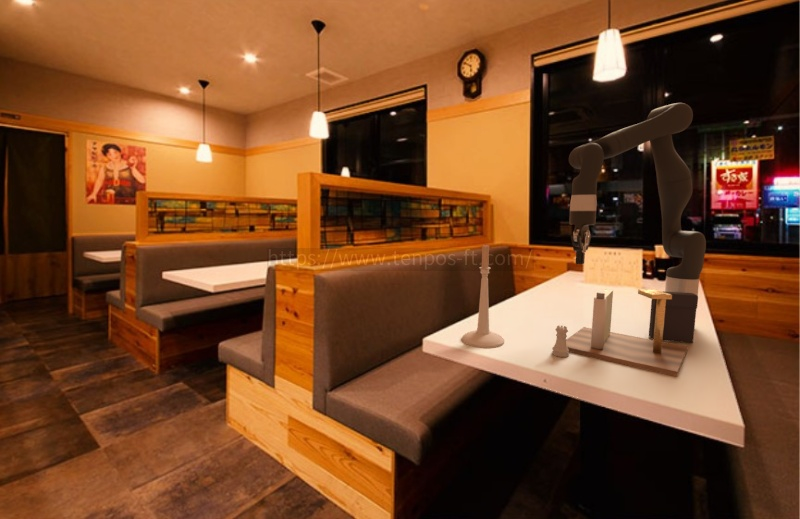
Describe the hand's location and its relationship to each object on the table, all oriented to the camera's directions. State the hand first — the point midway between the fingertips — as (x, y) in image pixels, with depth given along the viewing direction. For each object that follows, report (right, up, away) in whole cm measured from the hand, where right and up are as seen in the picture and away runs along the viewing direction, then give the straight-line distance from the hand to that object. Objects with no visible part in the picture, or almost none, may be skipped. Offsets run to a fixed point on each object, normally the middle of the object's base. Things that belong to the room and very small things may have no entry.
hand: (579, 264), depth 122 cm
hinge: (+2, -23, -9) cm, 24 cm away
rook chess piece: (-13, -25, -16) cm, 33 cm away
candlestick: (-32, -24, -5) cm, 40 cm away
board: (+6, -25, -12) cm, 28 cm away
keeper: (+13, -25, -15) cm, 32 cm away
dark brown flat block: (+27, -24, -4) cm, 36 cm away
